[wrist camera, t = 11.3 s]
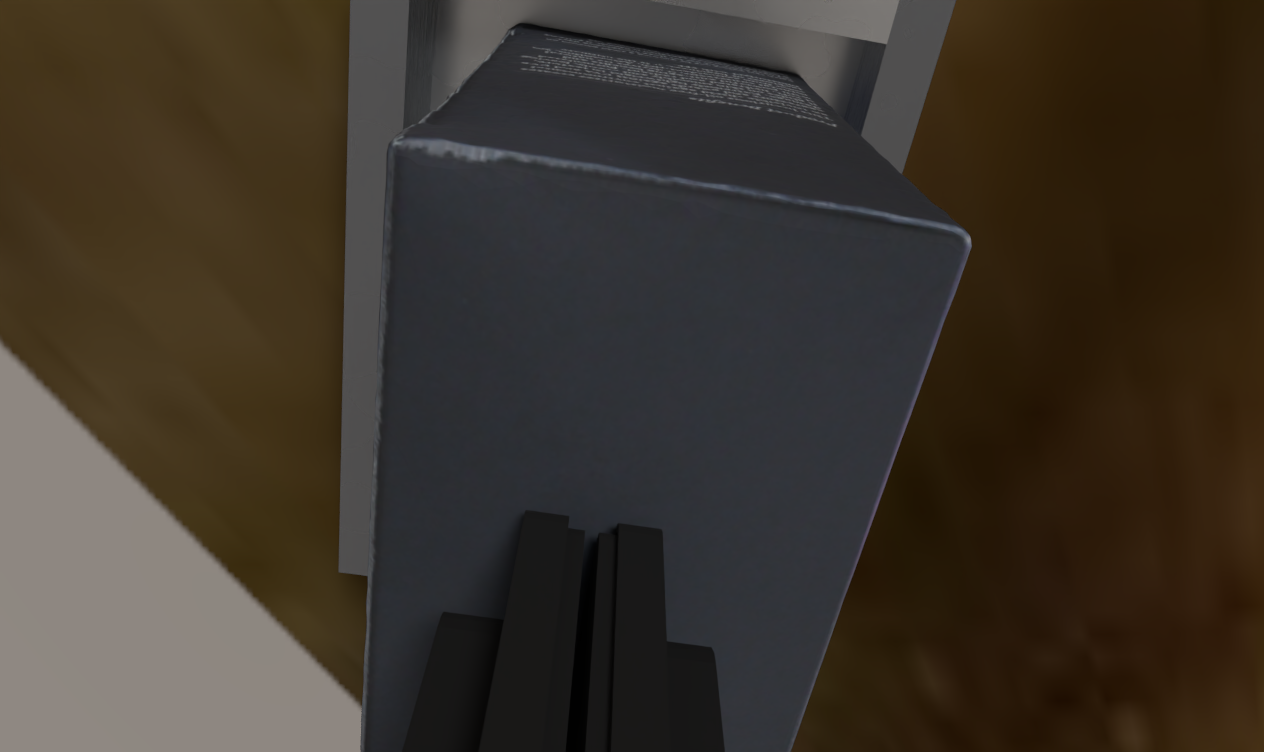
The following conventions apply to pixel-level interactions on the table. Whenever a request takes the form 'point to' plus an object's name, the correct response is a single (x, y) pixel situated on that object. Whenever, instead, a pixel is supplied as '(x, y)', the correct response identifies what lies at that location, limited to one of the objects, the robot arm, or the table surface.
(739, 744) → the small box
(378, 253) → the rail seat
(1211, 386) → the table surface
